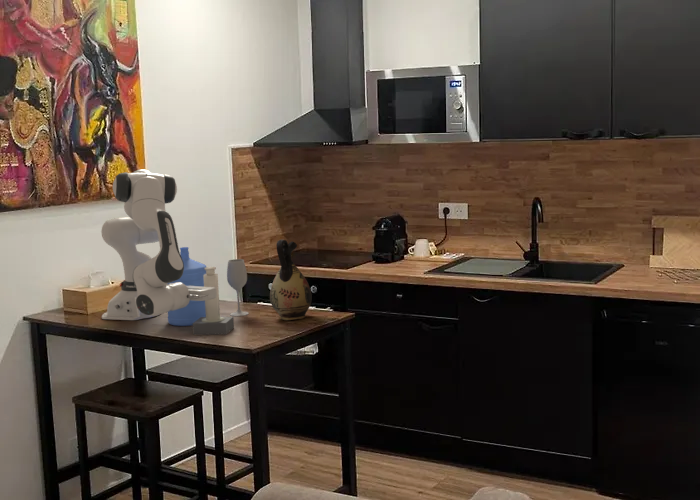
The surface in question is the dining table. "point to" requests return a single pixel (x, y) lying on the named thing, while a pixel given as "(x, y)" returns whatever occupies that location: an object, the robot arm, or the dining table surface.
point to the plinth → (213, 326)
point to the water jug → (190, 277)
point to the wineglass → (237, 280)
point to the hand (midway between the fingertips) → (203, 288)
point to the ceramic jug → (289, 286)
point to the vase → (213, 304)
